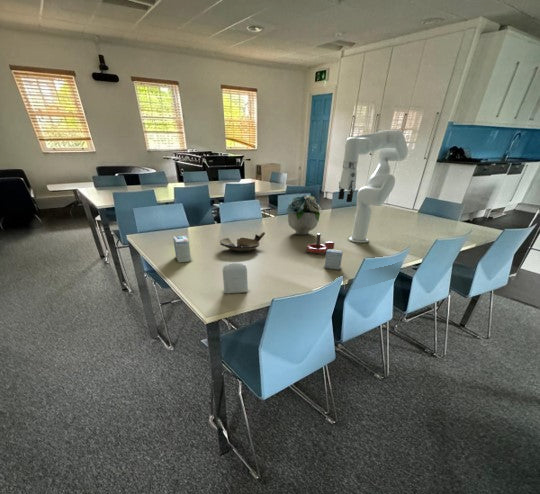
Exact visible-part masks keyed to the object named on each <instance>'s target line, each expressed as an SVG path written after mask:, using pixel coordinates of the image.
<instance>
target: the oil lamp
mask: <svg viewBox="0 0 540 494" xmlns="http://www.w3.org/2000/svg"><path fill="white" fill-rule="evenodd" d="M265 235H266V232H265V231H263V232H261V233H260V234H255V235H254V238H248V237H240V238H237V239H236V245H235V243H233V242H232V241H231V239H230V238H229V237H224V238H222V239H221V240H220V242H219V243H220V244H219V245H220V246H222V247H225V248H227V249H230V250H233V251H236V252H249V251H252V250H254V249H256V248H258V247H260V240H261V239H262V238H263V237H264V236H265Z"/></svg>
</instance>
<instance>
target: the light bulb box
mask: <svg viewBox="0 0 540 494" xmlns="http://www.w3.org/2000/svg"><path fill="white" fill-rule="evenodd" d="M172 240H173V247H174V253H175V258H176V260H177V262H178V263H186V262H187V263H188V262H192V258H191V250H190V249H191V248H190V241H189V239H188V238H187V236H186V235H178V236H172Z"/></svg>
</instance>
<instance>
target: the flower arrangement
mask: <svg viewBox="0 0 540 494" xmlns="http://www.w3.org/2000/svg"><path fill="white" fill-rule="evenodd" d="M287 213H288V215H287V222H288V225H289V227H290V228H291V229H292V230H294V231H295V233H296V234H297V235H308V234H309V232H310V231H313V230H314V229H315V228H317V225H318V223H319V222H320V221H319V220H320V217H321V213H323V210H322V207H321V206H320V205H319V204H318V202H317V198H315V196H314V195H306V194H305V195H300V196H296V197H293V198H292V200H291V201H290V202H289V203H288V205H287V207H286V212H285V214H287Z"/></svg>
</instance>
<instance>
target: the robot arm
mask: <svg viewBox="0 0 540 494" xmlns="http://www.w3.org/2000/svg"><path fill="white" fill-rule="evenodd" d="M404 135H405V134H404V133H403V132H402V131H401V130H400V129H385V130H380V131H376V132H371V133H366V134H359V135H354V136H351V137H348V138H347V139H346V141H345V144H344V154H343V155H344V156H343V161H342V169H341V170H342V171H341V176H340V181H339V182H338V200H344V198H345V190H346V191H347V195H346V203H352V201H353V197H354V192H355V190H356V188H357V185H356V184H357V175H358V174H357V172H358V171H357V168H358V163H359V162H358V161H359V155H361V156H362V155H363V156H365V155H367V154H369V153H370V152H375V151H378V159H377V167H376V169H375V171H374V172H373V173H372V174H371V176H370V177H369V179H368V182H367V186H362V187H361V188H359V189H358V191H357V194H356V210H355V216H354V221H353V227H352V234H351V236H350V237H348V240H349V242H352V243H357V244H364V243H365V244H366V243H368V242H369V238H367V237H368V232H369V227H370V222H371V216H372V209H371V206H373V207H381V206H382V205H384V203H385V202H386V200H387V198H388V197H389V196H390V194H391V193H392V191H393V189H394V187H395V184H396V178H395V176H394V175H393V174H390V173H391V167H390V164H389V162H403V161H404V160H405V159H406V158H407V156H408V152H409V149H408V144H407V141H406V137H405V136H404Z"/></svg>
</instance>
